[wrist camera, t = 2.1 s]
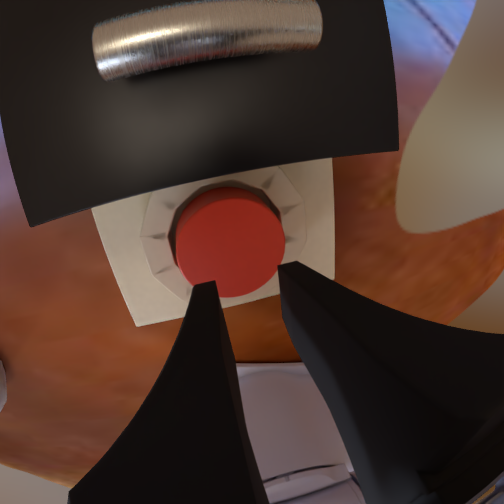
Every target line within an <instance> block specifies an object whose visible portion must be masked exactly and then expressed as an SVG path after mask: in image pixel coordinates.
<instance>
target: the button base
mask: <svg viewBox="0 0 504 504" xmlns="http://www.w3.org/2000/svg"><path fill="white" fill-rule="evenodd" d="M219 187H238V188H242V189H245V190H248V191H250V192H252V193H253V194H255V195H257V196H258V197H259V198H260V199H261V200H262V201H263V202H264V203H265V204H266V205H267V206H268V207H269V208H270V209H271V211H272V212H273V213H274V214H275V215H276V217H277V218H278V219H279V221H280V223H281V225H282V227H283V231H284V235H285V252H284V256H283V260H282V262H281V264H284V263H289V262H293V261H299V262H301V263H302V264H304V265H306V266H308V267H310V268H311V269H313V270H315V271H317V272H318V273H320V274H322V275H324V276H326V277H327V278H329V279H331V280H333V279H335V220H334V188H333V168H332V158H327V159H319V160H312V161H305V162H298V163H292V164H285V165H279V166H273V167H267V168H261V169H256V170H250V171H245V172H239V173H234V174H229V175H224V176H219V177H214V178H209V179H205V180H200V181H195V182H191V183H186V184H182V185H178V186H173V187H169V188H165V189H161V190H157V191H153V192H149V193H145V194H141V195H137V196H133V197H129V198H125V199H122V200H118V201H114V202H111V203H107V204H104V205H100V206H97V207H93V208H91V210H92V213H93V217H94V220H95V223H96V226H97V229H98V232H99V235H100V237H101V240H102V243H103V246H104V249H105V252H106V254H107V257H108V260H109V262H110V265H111V268H112V270H113V273H114V275H115V278H116V280H117V283H118V285H119V288H120V290H121V292H122V295H123V297H124V300H125V302H126V304H127V306H128V309H129V311H130V313H131V316H132V318H133V320H134V322H135V324H136V326H137V327H138V326H143V325H148V324H153V323H158V322H162V321H167V320H172V319H176V318H181V317H185V314H186V310H187V307H188V304H189V300H190V296H191V291H192V288H193V286H192V285H191V284H190V283H189V282H188V281H187V280H186V279H185V277H184V276H183V275H182V273H181V271H180V269H179V266H178V263H177V258H176V228H177V223H178V220H179V218H180V216H181V214H182V212H183V210H184V209H185V208H186V206H187V205H188V204H189V203H190V202H191V201H192V200H193V199H194V198H196V197H197V196H199V195H200V194H202V193H204V192H206V191H208V190H211V189H214V188H219ZM277 294H280V288H279V278H278V270H277V272H276V273H275V274H274V276H273V277H272V278H271V279H270V280H269V281H268V282H267V283H266V284H265V285H263V286H262V287H260V288H259V289H257V290H255V291H253V292H251V293H249V294H246V295H243V296H239V297H232V298H221V297H219V298H220V302H221V306H222V308H226V307H230V306H234V305H239V304H243V303H247V302H251V301H255V300H258V299H261V298H265V297H269V296H273V295H277Z"/></svg>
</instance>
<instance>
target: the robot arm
mask: <svg viewBox="0 0 504 504" xmlns="http://www.w3.org/2000/svg"><path fill="white" fill-rule="evenodd" d="M277 269H278V278H279V288H280V298H281V308H282V318H283V320H284V323H285V325H286V328H287V331H288V333H289V336H290V338H291V340H292V343H293V345H294V347H295V349H296V350H297V352H298V354H299V356H300V358H301V359H302V361H303V362H302V363H236V361H235V357H234V353H233V349H232V345H231V342H230V338H229V334H228V330H227V326H226V322H225V318H224V314H223V310H222V306H221V302H220V298H219V293H218V289H217V285H216V281H215V280H213V281H209V282H204V283H200V284H196V285H194V287H193V288H192V291H191V296H190V300H189V304H188V307H187V310H186V314H185V317H184V319H183V322H182V325H181V328H180V330H179V333H178V336H177V338H176V340H175V343H174V345H173V347H172V350H171V352H170V354H169V356H168V359H167V361H166V363H165V365H164V367H163V369H162V371H161V373H160V375H159V376H158V378H157V380H156V382H155V384H154V386H153V387H152V389H151V391H150V392H149V394H148V396H147V397H146V399H145V400H144V402H143V404H142V405H141V407H140V408H139V410H138V411H137V413H136V414H135V416H134V417H133V419H132V420H131V422H130V423H129V424H128V426H127V427H126V428H125V429H124V431H123V432H122V433H121V435H120V436H119V437H118V438H117V440H116V441H115V442H114V444H113V445H112V446H111V447H110V449H109V450H108V451H107V452H106V454H105V455H104V456H103V457H102V458H101V459H100V460H99V462H98V463H97V464H96V465H95V466H94V467H93V468H92V469H91V470H90V471H89V472H88V473H87V474H86V475H85V476H84V477H83V478H82V479H81V480H80V481H79V482H78V483H77V484H76V485H75V486H74V487H73V488H72V489H71V490H70V491H69V495H68V502H67V504H472V503H473V502H474V501H476V500H477V499H478V498H479V497H480V496H482V495H483V494H484V493H485V492H486V491H488V490H489V489H490V488H491V487H492V486H493V485H495V484H496V488H495V490H494V491H493V492H492V493H490V494H489V495H487V496H486V497H485V498H483V499H482V500H480V501H479V502H477V503H476V504H504V334H494V333H485V332H479V331H473V330H466V329H461V328H456V327H451V326H447V325H443V324H439V323H436V322H432V321H428V320H424V319H421V318H418V317H415V316H411V315H409V314H406V313H403V312H400V311H398V310H395V309H392V308H389V307H387V306H385V305H382V304H380V303H377V302H375V301H373V300H371V299H369V298H366V297H364V296H362V295H360V294H358V293H356V292H354V291H352V290H350V289H348V288H346V287H344V286H342V285H340V284H338V283H336V282H335V281H333V280H331V279H329V278H327V277H326V276H324V275H322V274H320V273H318V272H317V271H315V270H313V269H311V268H310V267H308V266H306V265H304V264H302V263H301V262H299V261H293V262H289V263H284V264H280V265H277Z"/></svg>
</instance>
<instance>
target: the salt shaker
mask: <svg viewBox="0 0 504 504" xmlns="http://www.w3.org/2000/svg"><path fill="white" fill-rule="evenodd" d="M6 399H7V388H6V373H5V370H4V367H3V364H2V361H1V359H0V411H1V410H2V408H3V406H4V404H5V403H6Z"/></svg>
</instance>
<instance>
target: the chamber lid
mask: <svg viewBox="0 0 504 504" xmlns="http://www.w3.org/2000/svg"><path fill="white" fill-rule="evenodd" d="M0 116H1V122H2V128H3V133H4V138H5V143H6V147H7V152H8V156H9V160H10V164H11V168H12V172H13V176H14V179H15V183H16V186H17V189H18V193H19V196H20V199H21V202H22V205H23V208H24V211H25V214H26V217H27V220H28V223H29V226H30V227H34V226H37V225H40V224H43V223H46V222H49V221H52V220H55V219H58V218H61V217H64V216H67V215H70V214H74V213H77V212H80V211H83V210H87V209H90V208H93V207H97V206H100V205H104V204H107V203H111V202H114V201H118V200H122V199H125V198H129V197H133V196H137V195H141V194H145V193H149V192H153V191H157V190H161V189H165V188H169V187H173V186H178V185H182V184H186V183H191V182H195V181H200V180H205V179H209V178H214V177H219V176H224V175H229V174H234V173H239V172H245V171H250V170H256V169H261V168H267V167H273V166H279V165H285V164H292V163H298V162H305V161H312V160H319V159H327V158H334V157H343V156H351V155H360V154H370V153H380V152H391V151H398V150H399V129H398V108H397V93H396V82H395V72H394V63H393V55H392V47H391V40H390V34H389V28H388V22H387V17H386V11H385V6H384V1H383V0H0Z"/></svg>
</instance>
